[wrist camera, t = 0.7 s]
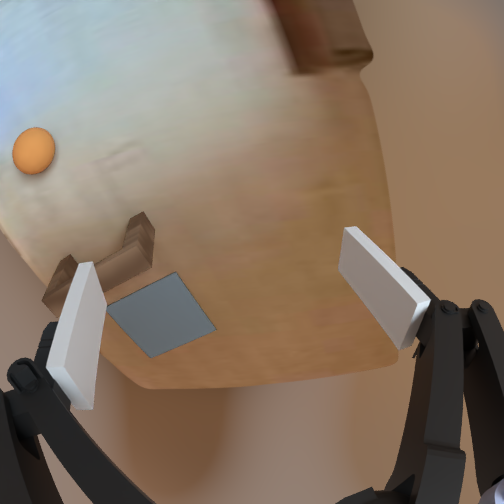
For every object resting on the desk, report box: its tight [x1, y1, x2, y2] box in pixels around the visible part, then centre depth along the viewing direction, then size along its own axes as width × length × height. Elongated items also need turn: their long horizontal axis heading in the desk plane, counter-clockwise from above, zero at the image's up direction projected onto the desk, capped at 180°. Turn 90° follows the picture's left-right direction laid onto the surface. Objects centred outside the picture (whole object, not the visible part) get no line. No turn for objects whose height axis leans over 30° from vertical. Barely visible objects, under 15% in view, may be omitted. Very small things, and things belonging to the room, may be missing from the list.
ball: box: [12, 127, 55, 174], centre depth 28 cm, size 6×6×6 cm
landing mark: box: [106, 272, 216, 358], centre depth 47 cm, size 13×13×1 cm
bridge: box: [42, 212, 155, 318], centre depth 35 cm, size 3×14×9 cm, turn 112°
